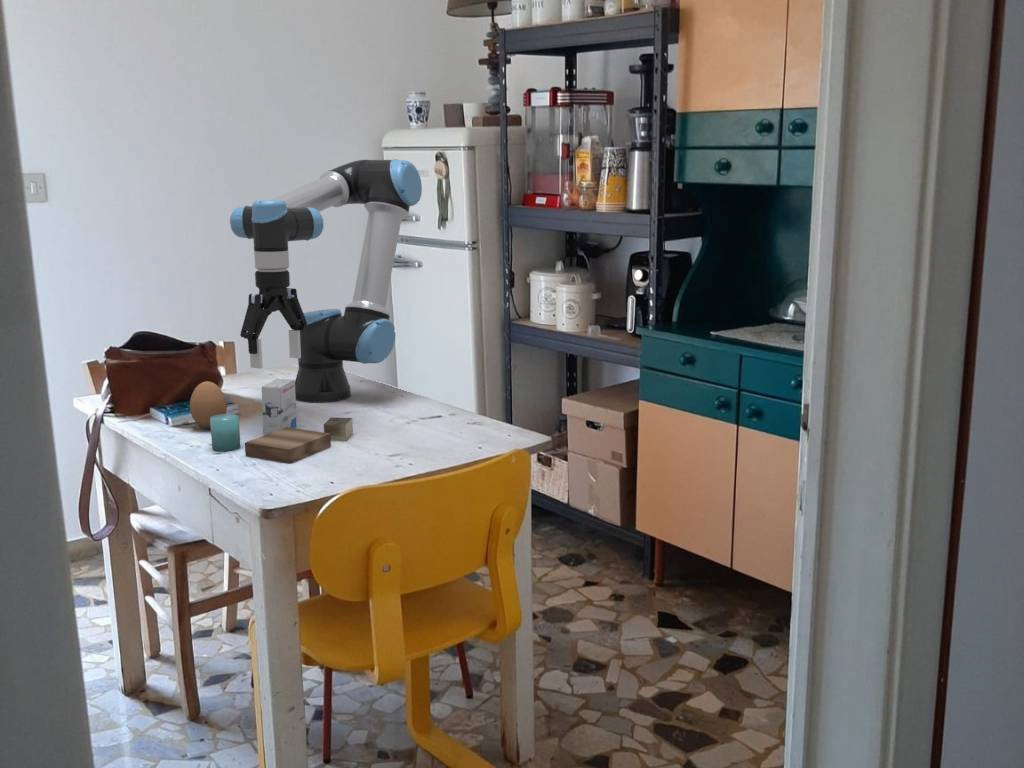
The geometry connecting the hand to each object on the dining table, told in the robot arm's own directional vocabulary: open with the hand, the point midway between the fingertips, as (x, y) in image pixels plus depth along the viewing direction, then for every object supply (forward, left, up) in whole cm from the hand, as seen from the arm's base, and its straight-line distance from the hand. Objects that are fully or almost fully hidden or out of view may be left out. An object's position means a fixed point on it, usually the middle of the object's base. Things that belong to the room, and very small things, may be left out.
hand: (276, 362), depth 225 cm
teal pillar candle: (+16, -2, -16) cm, 23 cm away
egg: (+5, -17, -17) cm, 24 cm away
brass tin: (-2, +15, -17) cm, 23 cm away
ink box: (0, 0, -17) cm, 17 cm away
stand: (+12, +12, -16) cm, 23 cm away
